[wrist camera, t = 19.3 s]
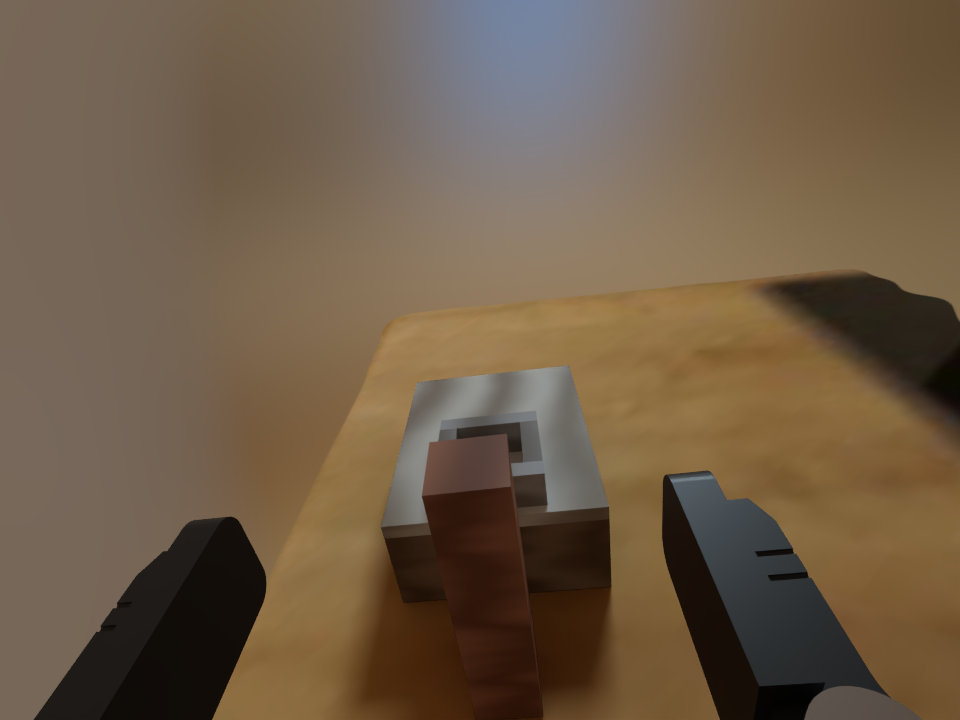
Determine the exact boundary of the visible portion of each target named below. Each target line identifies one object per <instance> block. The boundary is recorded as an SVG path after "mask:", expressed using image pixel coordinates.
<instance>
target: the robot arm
mask: <svg viewBox="0 0 960 720" xmlns="http://www.w3.org/2000/svg"><path fill="white" fill-rule="evenodd" d="M662 539H663V548H664V554H665V559H666V563H667V567H668V570H669V574H670V576H671V579H672V582H673V585H674V588H675V591H676V594H677V597H678V600H679V602H680V605H681V608H682V611H683V614H684V617H685V620H686V623H687V626H688V628H689V631H690V634H691V637H692V640H693V643H694V646H695V649H696V652H697V654H698V657H699V660H700V663H701V666H702V669H703V672H704V675H705V678H706V680H707V683H708V686H709V689H710V692H711V695H712V698H713V701H714V704H715V706H716V709H717V712H718V715H719V718H720V720H922V719H921V718H920V717H918V716H917V715H916V714H915V713H914V712H912V711H911V710H909V709H908V708H906V707H905V706H903V705H902V704H900V703H899V702H897V701H895V700H893V699H892V698H890V697H889V696H888V695H887V693H886V692H885V691H884V690H883V689H882V688H881V687H880V685H879V684H878V683H877V681H876V680H875V679H874V677H873V676H872V674H871V673H870V671H869V670H868V668H867V667H866V665H865V663H864V662H863V660H862V658H861V657H860V655H859V654H858V652H857V650H856V649H855V647H854V646H853V644H852V642H851V641H850V639H849V638H848V636H847V634H846V633H845V631H844V630H843V628H842V626H841V625H840V623H839V622H838V620H837V618H836V617H835V615H834V614H833V612H832V610H831V609H830V607H829V606H828V604H827V602H826V601H825V599H824V598H823V596H822V594H821V593H820V591H819V590H818V588H817V586H816V585H815V583H814V581H813V580H812V578H809V577H808V573H807V570H806V569H805V567H804V565H803V564H802V562H801V561H800V559H799V557H798V556H797V554H794V552H793V548H792V546H791V545H790V543H789V541H788V540H787V538H786V537H785V535H784V533H783V532H782V530H781V529H780V527H779V525H778V524H777V522H776V521H775V520H774V519H773V518H772V517H771V516H769V515H768V514H767V513H766V512H764V511H763V510H762V509H761V508H759V507H758V506H757V505H756V504H754V503H753V502H752V501H751V500H749V499H748V498H746V499H735V500H727V499H726V497H725V495H724V494H723V492H722V490H721V488H720V486H719V484H718V483H717V481H716V479H715V477H714V475H713V474H712V473H711V472H710V471H699V472H689V473H679V474H669V475H665V476H664V479H663V518H662ZM265 593H266V575H265V571H264V569H263V567H262V564H261V563H260V561H259V559H258V557H257V555H256V553H255V551H254V549H253V547H252V545H251V543H250V541H249V540H248V537H247V536H246V534H245V532H244V530H243V528H242V526H241V524H240V523H239V521H238V520H237V519H235V518H234V517H222V518H212V519H203V520H194V521H191V522H189V523H188V524H187V525H185V527H184V528H183V529H182V530H181V532H180V533H179V535H178V536H177V538H176V539H175V541H174V543H173V544H172V545H171V547H170V548H169V550H168V551H164V552H162V553H161V554H160V555H159V556H158V557H157V558H156V559H154V560H153V561H152V562H151V563H150V564H149V565H148V566H147V567H146V568H145V569H143V570H142V571H141V572H140V573H139V574H138V575H137V576H136V577H135V579H134V580H133V581H132V583H131V584H130V586H129V587H128V588H127V590H126V591H125V593H124V594H123V595H122V597H121V598H120V600H119V601H118V602H117V608H114V609H112V611H111V612H110V614H109V615H108V616H107V618H106V619H105V621H104V622H103V623H102V625H101V630H100V632H96V633H95V635H94V636H93V637H92V639H91V640H90V642H89V643H88V644H87V646H86V647H85V649H84V650H83V652H82V653H81V654H80V656H79V657H78V658H77V660H76V662H75V663H74V664H73V666H72V667H71V669H70V670H69V671H68V673H67V674H66V676H65V677H64V678H63V680H62V681H61V682H60V684H59V685H58V687H57V688H56V689H55V691H54V692H53V694H52V695H51V696H50V698H49V699H48V701H47V702H46V703H45V705H44V706H43V708H42V709H41V710H40V712H39V713H38V715H37V716H36V717H35V719H34V720H212V718H213V716H214V714H215V712H216V709H217V707H218V705H219V703H220V700H221V698H222V696H223V693H224V691H225V689H226V687H227V684H228V682H229V680H230V677H231V675H232V673H233V671H234V668H235V666H236V664H237V661H238V659H239V657H240V655H241V652H242V650H243V648H244V645H245V643H246V641H247V639H248V636H249V634H250V632H251V629H252V627H253V625H254V623H255V620H256V618H257V616H258V613H259V611H260V609H261V607H262V604H263V602H264V598H265Z"/></svg>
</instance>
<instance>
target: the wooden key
mask: <svg viewBox="0 0 960 720" xmlns="http://www.w3.org/2000/svg"><path fill="white" fill-rule="evenodd" d="M422 499H423V503H424V507H425V512H426V516H427V520H428V524H429V528H430V532H431V536H432V540H433V544H434V548H435V552H436V557H437V561H438V565H439V569H440V573H441V577H442V581H443V585H444V589H445V593H446V597H447V602H448V606H449V610H450V614H451V618H452V622H453V626H454V630H455V634H456V638H457V642H458V647H459V651H460V655H461V659H462V663H463V667H464V671H465V675H466V679H467V683H468V687H469V692H470V696H471V700H472V704H473V708H474V712H475V716H476V720H503V719H516V718H529V717H541V716H543V708H542V699H541V689H540V679H539V669H538V659H537V650H536V643H535V635H534V628H533V621H532V614H531V606H530V599H529V592H528V585H527V577H526V570H525V563H524V556H523V548H522V541H521V534H520V526H519V519H518V512H517V505H516V497H515V490H514V483H513V476H512V468H511V461H510V454H509V447H508V439H507V434H499V435H490V436H481V437H472V438H464V439H455V440H446V441H437V442H429V449H428V456H427V463H426V470H425V477H424V484H423V490H422Z"/></svg>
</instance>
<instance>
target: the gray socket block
mask: <svg viewBox="0 0 960 720" xmlns="http://www.w3.org/2000/svg"><path fill="white" fill-rule="evenodd" d="M499 434H507V439H508V447H509V454H510V461H511V468H512V476H513V483H514V490H515V497H516V505H517V512H518V519H519V526H520V534H521V541H522V548H523V556H524V563H525V570H526V577H527V585H528V592H529V593H535V592H548V591H561V590H574V589H587V588H600V587H611V558H610V525H609V505H608V502H607V498H606V495H605V491H604V488H603V484H602V480H601V477H600V473H599V470H598V466H597V463H596V459H595V456H594V452H593V449H592V445H591V442H590V438H589V434H588V431H587V427H586V424H585V420H584V417H583V413H582V410H581V406H580V403H579V399H578V396H577V392H576V389H575V385H574V381H573V378H572V374H571V371H570V367H569V366H561V367H551V368H542V369H533V370H524V371H515V372H506V373H497V374H488V375H479V376H470V377H461V378H452V379H443V380H434V381H425V382H417V385H416V389H415V393H414V397H413V401H412V405H411V409H410V413H409V417H408V421H407V425H406V429H405V433H404V437H403V441H402V445H401V449H400V453H399V457H398V461H397V465H396V469H395V473H394V477H393V481H392V485H391V489H390V493H389V497H388V501H387V505H386V509H385V513H384V517H383V521H382V525H381V529H382V532H383V536H384V539H385V542H386V545H387V549H388V552H389V555H390V559H391V562H392V565H393V569H394V572H395V575H396V579H397V582H398V585H399V589H400V592H401V595H402V599H403V602H417V601H430V600H443V599H447V597H446V593H445V589H444V585H443V581H442V577H441V573H440V569H439V565H438V561H437V557H436V552H435V548H434V544H433V540H432V536H431V532H430V528H429V524H428V520H427V516H426V512H425V507H424V503H423V499H422V490H423V484H424V477H425V470H426V463H427V456H428V449H429V442H437V441H446V440H455V439H464V438H472V437H481V436H490V435H499Z"/></svg>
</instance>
